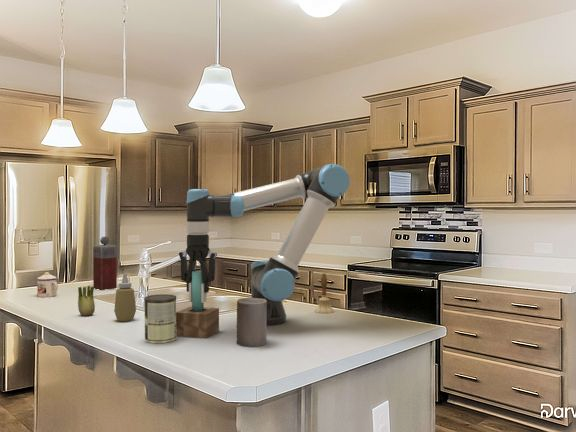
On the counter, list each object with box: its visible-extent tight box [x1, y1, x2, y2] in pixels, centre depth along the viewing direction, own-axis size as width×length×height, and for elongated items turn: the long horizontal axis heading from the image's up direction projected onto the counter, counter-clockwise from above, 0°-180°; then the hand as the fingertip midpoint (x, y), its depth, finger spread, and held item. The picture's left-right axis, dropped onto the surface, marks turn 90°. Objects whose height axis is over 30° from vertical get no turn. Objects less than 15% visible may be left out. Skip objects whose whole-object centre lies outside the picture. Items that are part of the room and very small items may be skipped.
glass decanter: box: [92, 236, 118, 291], centre depth 279 cm, size 9×11×28 cm
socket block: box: [176, 306, 220, 339], centre depth 179 cm, size 11×11×8 cm
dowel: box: [191, 270, 205, 312], centre depth 178 cm, size 4×4×14 cm
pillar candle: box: [235, 296, 267, 348], centre depth 166 cm, size 10×10×15 cm
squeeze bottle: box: [113, 273, 137, 322], centre depth 199 cm, size 8×8×18 cm
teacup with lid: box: [36, 271, 59, 298], centre depth 254 cm, size 12×9×12 cm
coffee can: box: [143, 293, 177, 344], centre depth 170 cm, size 10×10×14 cm
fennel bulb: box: [77, 285, 96, 317], centre depth 208 cm, size 6×5×12 cm
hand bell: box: [314, 273, 335, 314], centre depth 217 cm, size 8×8×16 cm
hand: (197, 301), depth 178 cm, fingers closed on dowel, 4 cm apart
